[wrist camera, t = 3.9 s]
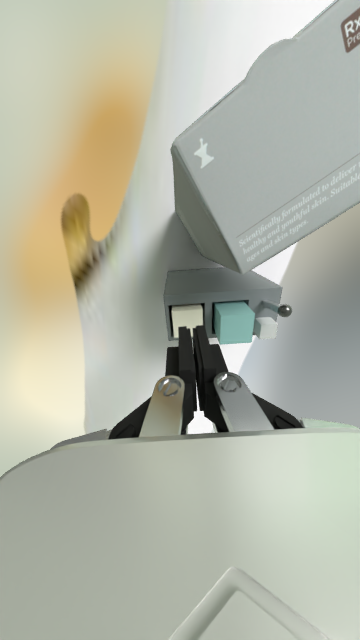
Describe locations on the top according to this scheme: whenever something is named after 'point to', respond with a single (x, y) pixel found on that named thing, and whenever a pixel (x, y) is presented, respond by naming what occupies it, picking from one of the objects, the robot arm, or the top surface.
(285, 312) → the metal lever
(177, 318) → the cream button
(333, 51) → the skincare box
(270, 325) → the grey button
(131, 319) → the top surface
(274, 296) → the panel
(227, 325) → the teal button
